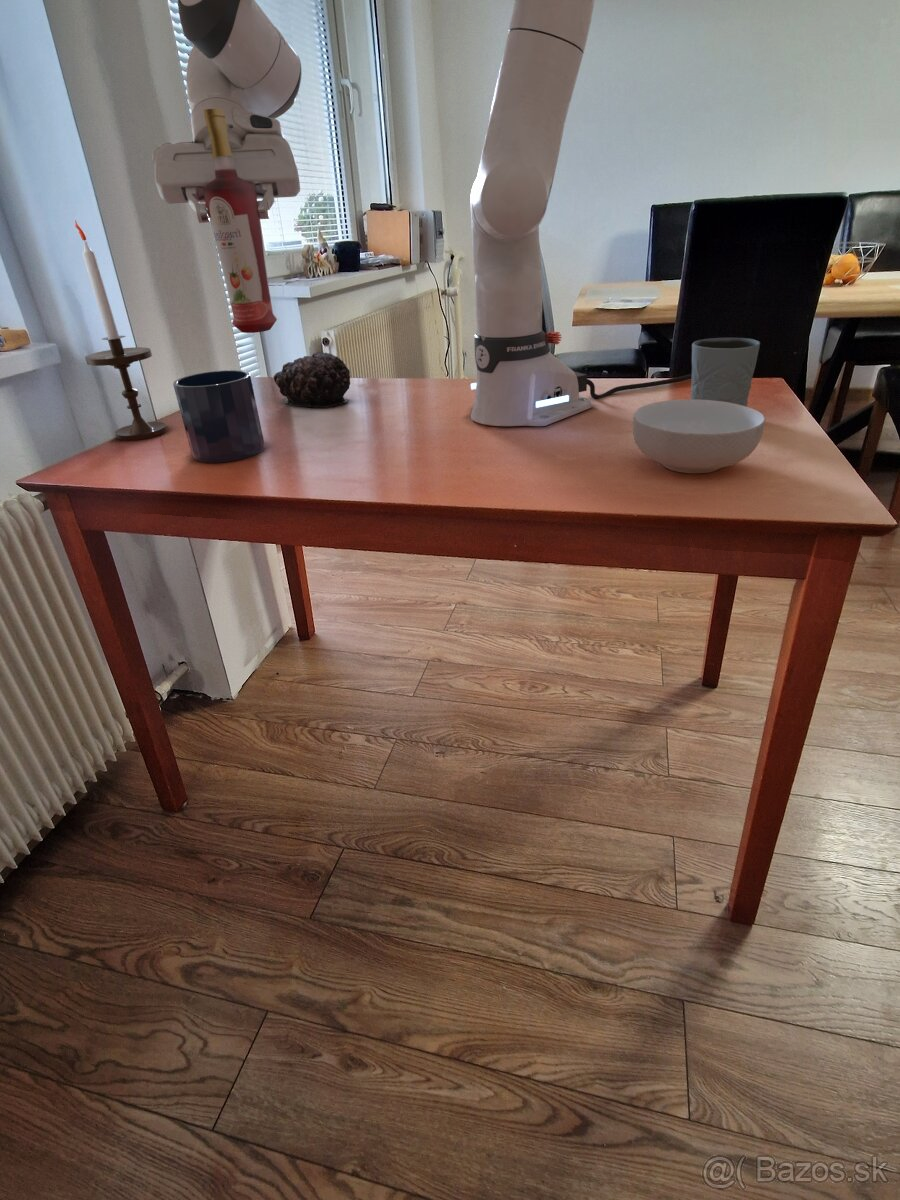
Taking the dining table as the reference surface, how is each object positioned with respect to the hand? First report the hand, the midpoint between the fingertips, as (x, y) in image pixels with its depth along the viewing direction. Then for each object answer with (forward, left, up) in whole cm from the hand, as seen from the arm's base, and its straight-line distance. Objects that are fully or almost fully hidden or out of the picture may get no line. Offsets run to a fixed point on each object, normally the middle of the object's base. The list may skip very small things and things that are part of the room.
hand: (234, 217), depth 96 cm
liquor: (0, -1, -16) cm, 16 cm away
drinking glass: (-62, +41, -34) cm, 81 cm away
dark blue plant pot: (+7, -3, -34) cm, 35 cm away
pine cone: (-17, -23, -34) cm, 44 cm away
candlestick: (+16, -27, -34) cm, 47 cm away
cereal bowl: (-41, +53, -34) cm, 75 cm away
